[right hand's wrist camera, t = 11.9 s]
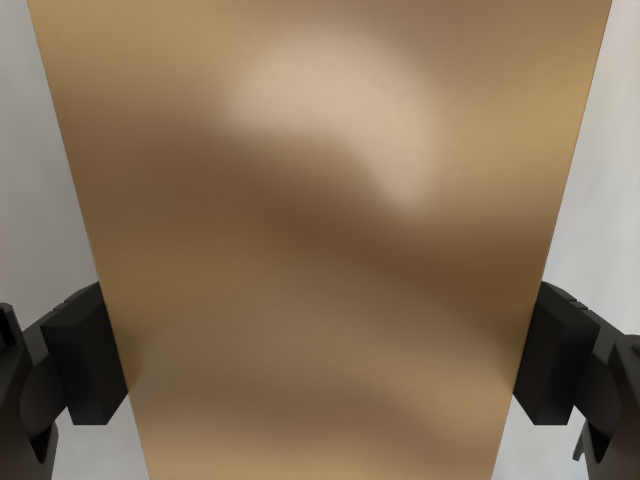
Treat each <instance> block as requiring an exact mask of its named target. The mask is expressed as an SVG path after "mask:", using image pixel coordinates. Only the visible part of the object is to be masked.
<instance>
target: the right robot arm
mask: <svg viewBox="0 0 640 480" xmlns="http://www.w3.org/2000/svg"><path fill="white" fill-rule="evenodd" d="M127 394H128V391H127V387H126V383H125V379H124V375H123V372H122V368H121V364H120V360H119V356H118V352H117V348H116V344H115V341H114V337H113V333H112V329H111V325H110V321H109V317H108V313H107V310H106V306H105V302H104V298H103V294H102V290H101V286H100V282H99V281H98V282H96V283H94V284H92V285H89V286H87V287H85V288H83V289H81V290H79V291H77V292H75V293H74V294H73V295H71V296H70V297H69V298H67V299H66V300H65V301H64V303H61V304H59V305H58V306H57V307H55V308H54V309H53V311H50V312H48V313H47V314H46V315H44V316H43V317H42V318H40V319H39V320H38V321H36V322H35V323H34V324H32V325H31V326H29V327H28V328H27V329H25V330H24V331H23V332H22V331H21V329H20V326H19V323H18V321H17V318H16V315H15V312H14V310H13V307H12V306H11V305H9V304H7V303H0V480H51V477H52V471H53V465H54V459H55V454H56V448H57V442H58V436H59V435H58V428H57V426H56V423H55V419H56V418H57V417H58V416H59V415H60V413H61V412H62V411H63V410H64V409H65V408H66V406H67V407H68V410H69V413H70V416H71V419H72V422H73V425H107V423H108V422H109V420H110V419H111V417H112V416H113V414H114V413H115V412H116V410H117V409H118V407H119V406H120V404H121V403H122V401H123V400H124V398H125V397H126V395H127ZM513 395H514V396H515V398H516V399H517V401H518V402H519V403H520V405H521V406H522V408H523V409H524V411H525V412H526V414H527V415H528V417H529V418H530V420H531V421H532V423H533V424H534V425H567V423H568V421H569V418H570V415H571V412H572V409H573V406H574V405H575V406H576V407H577V409H578V410H579V411H580V412H581V413H582V414H583V415H584V417H585V418H586V420H585V423H584V426H583V428H582V431H581V434H580V436H579V439H578V442H577V444H576V447H575V450H574V453H573V459H574V460H576V461H579V459H580V456H581V454H582V453H584V452H585V458H586V464H587V470H588V476H589V480H640V336H639V335H624V334H623V333H622V332H620V331H619V330H618V329H616V328H615V327H614V326H612V325H611V324H609V323H608V322H607V321H605V320H604V319H603V318H601V317H600V316H599V315H597V314H596V313H594V312H593V311H592V310H588V307H586V306H585V305H583V304H582V303H581V302H577V299H575V298H574V297H573V296H571V295H570V294H568V293H567V292H566V291H564V290H563V289H561V288H558V287H556V286H554V285H552V284H550V283H547V282H543V281H541V284H540V288H539V292H538V296H537V300H536V304H535V308H534V312H533V316H532V320H531V324H530V328H529V332H528V336H527V339H526V343H525V347H524V351H523V355H522V359H521V363H520V367H519V371H518V375H517V379H516V383H515V387H514V391H513Z"/></svg>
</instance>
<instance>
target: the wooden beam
mask: <svg viewBox="0 0 640 480" xmlns="http://www.w3.org/2000/svg"><path fill="white" fill-rule="evenodd" d="M27 3H28V7H29V11H30V15H31V19H32V23H33V27H34V30H35V34H36V38H37V42H38V46H39V50H40V54H41V58H42V61H43V65H44V69H45V73H46V77H47V81H48V85H49V89H50V92H51V96H52V100H53V104H54V108H55V112H56V116H57V120H58V123H59V127H60V131H61V135H62V139H63V143H64V147H65V151H66V154H67V158H68V162H69V166H70V170H71V174H72V178H73V182H74V185H75V189H76V193H77V197H78V201H79V205H80V209H81V213H82V216H83V220H84V224H85V228H86V232H87V236H88V240H89V244H90V247H91V251H92V255H93V259H94V263H95V267H96V271H97V275H98V279H99V282H100V286H101V290H102V294H103V298H104V302H105V306H106V310H107V313H108V317H109V321H110V325H111V329H112V333H113V337H114V341H115V344H116V348H117V352H118V356H119V360H120V364H121V368H122V372H123V375H124V379H125V383H126V387H127V391H128V395H129V399H130V403H131V406H132V410H133V414H134V418H135V422H136V426H137V430H138V434H139V437H140V441H141V445H142V449H143V453H144V457H145V461H146V465H147V468H148V472H149V476H150V480H491V478H492V474H493V470H494V466H495V462H496V458H497V454H498V450H499V446H500V442H501V438H502V434H503V430H504V426H505V422H506V418H507V415H508V411H509V407H510V403H511V399H512V395H513V391H514V387H515V383H516V379H517V375H518V371H519V367H520V363H521V359H522V355H523V351H524V347H525V343H526V339H527V336H528V332H529V328H530V324H531V320H532V316H533V312H534V308H535V304H536V300H537V296H538V292H539V288H540V284H541V280H542V276H543V272H544V268H545V264H546V260H547V257H548V253H549V249H550V245H551V241H552V237H553V233H554V229H555V225H556V221H557V217H558V213H559V209H560V205H561V201H562V197H563V193H564V189H565V185H566V181H567V177H568V174H569V170H570V166H571V162H572V158H573V154H574V150H575V146H576V142H577V138H578V134H579V130H580V126H581V122H582V118H583V114H584V110H585V106H586V102H587V98H588V95H589V91H590V87H591V83H592V79H593V75H594V71H595V67H596V63H597V59H598V55H599V51H600V47H601V43H602V39H603V35H604V31H605V27H606V23H607V19H608V16H609V12H610V8H611V4H612V0H27Z"/></svg>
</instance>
